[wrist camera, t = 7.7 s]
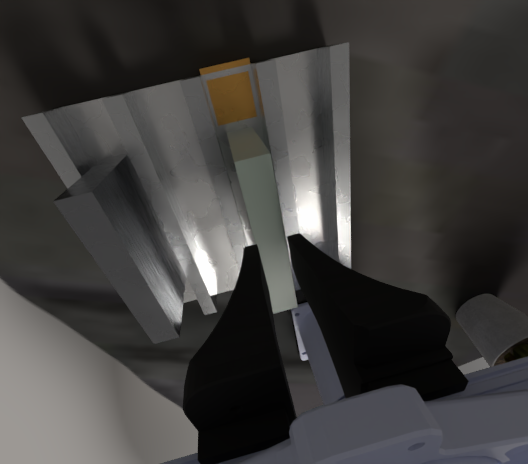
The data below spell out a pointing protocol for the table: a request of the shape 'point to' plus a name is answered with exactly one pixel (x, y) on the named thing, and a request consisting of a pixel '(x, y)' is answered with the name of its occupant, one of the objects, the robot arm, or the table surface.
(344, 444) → the robot arm
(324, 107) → the rack
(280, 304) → the panel
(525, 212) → the table surface
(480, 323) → the house plant
